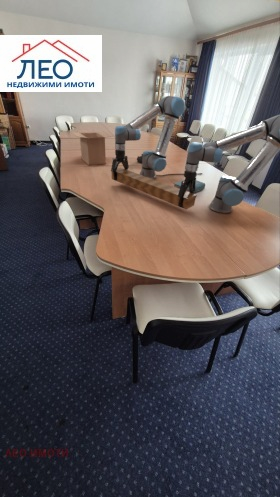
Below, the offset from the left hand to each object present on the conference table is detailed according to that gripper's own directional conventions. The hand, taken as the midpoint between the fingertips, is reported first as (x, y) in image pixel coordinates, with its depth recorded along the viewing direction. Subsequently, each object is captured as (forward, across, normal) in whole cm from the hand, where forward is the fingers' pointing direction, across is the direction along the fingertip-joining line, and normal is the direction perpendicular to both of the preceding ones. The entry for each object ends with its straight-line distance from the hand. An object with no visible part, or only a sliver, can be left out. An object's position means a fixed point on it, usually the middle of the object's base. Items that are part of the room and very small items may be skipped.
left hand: (120, 178), depth 179 cm
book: (+7, +41, -42) cm, 59 cm away
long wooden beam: (+1, 0, -31) cm, 31 cm away
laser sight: (+7, +71, +31) cm, 78 cm away
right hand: (0, 0, -62) cm, 62 cm away
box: (+7, +28, +71) cm, 76 cm away
